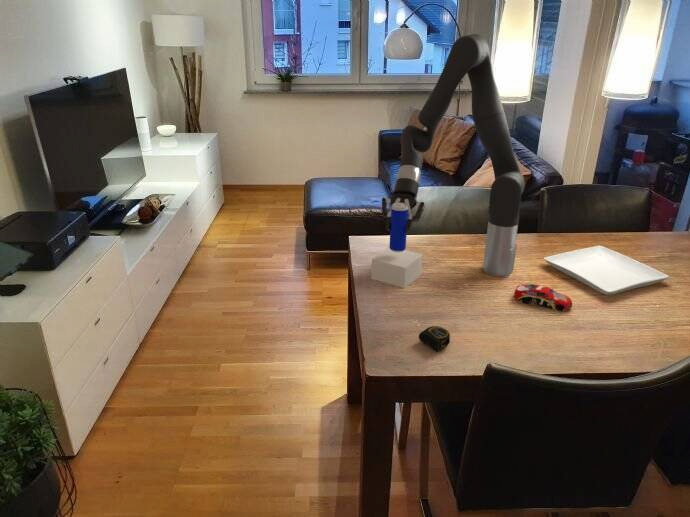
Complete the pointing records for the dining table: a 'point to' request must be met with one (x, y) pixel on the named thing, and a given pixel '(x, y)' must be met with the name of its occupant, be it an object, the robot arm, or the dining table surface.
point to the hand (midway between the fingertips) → (397, 230)
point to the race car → (542, 297)
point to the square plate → (605, 269)
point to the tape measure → (435, 337)
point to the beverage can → (398, 227)
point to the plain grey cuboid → (396, 267)
